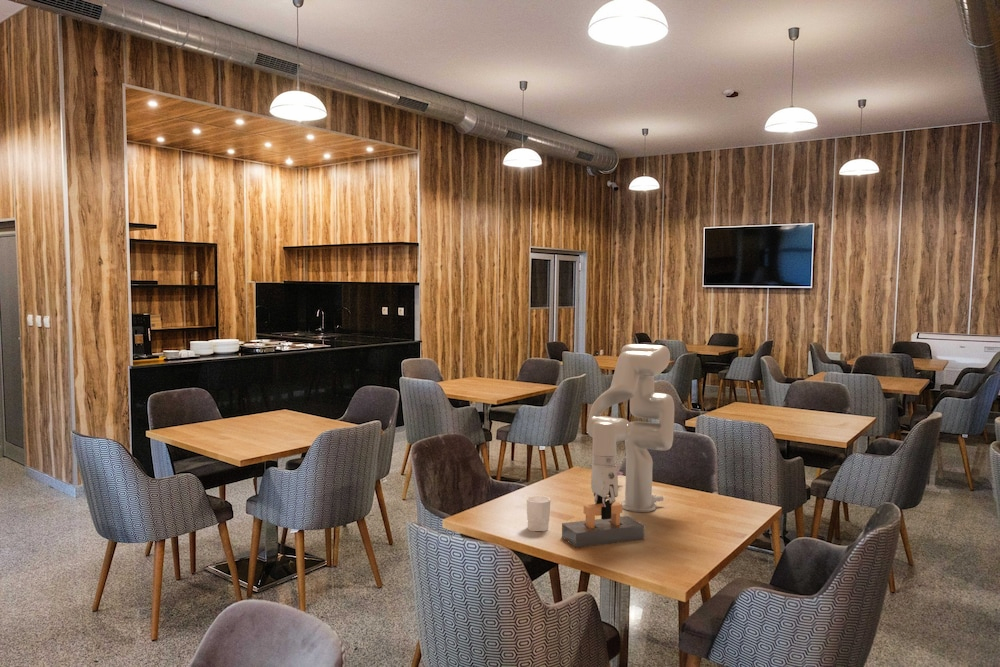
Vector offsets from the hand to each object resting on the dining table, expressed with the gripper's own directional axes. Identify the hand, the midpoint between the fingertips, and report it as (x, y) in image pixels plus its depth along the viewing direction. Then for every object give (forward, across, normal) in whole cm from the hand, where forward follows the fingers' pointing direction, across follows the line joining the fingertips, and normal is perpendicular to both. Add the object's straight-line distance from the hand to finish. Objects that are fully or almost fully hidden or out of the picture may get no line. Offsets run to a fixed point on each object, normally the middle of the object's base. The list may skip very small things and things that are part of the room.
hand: (602, 516), depth 224 cm
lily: (+7, +53, -32) cm, 62 cm away
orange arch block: (+4, 0, 0) cm, 4 cm away
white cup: (+7, +15, +16) cm, 23 cm away
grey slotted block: (+7, 0, 0) cm, 7 cm away
